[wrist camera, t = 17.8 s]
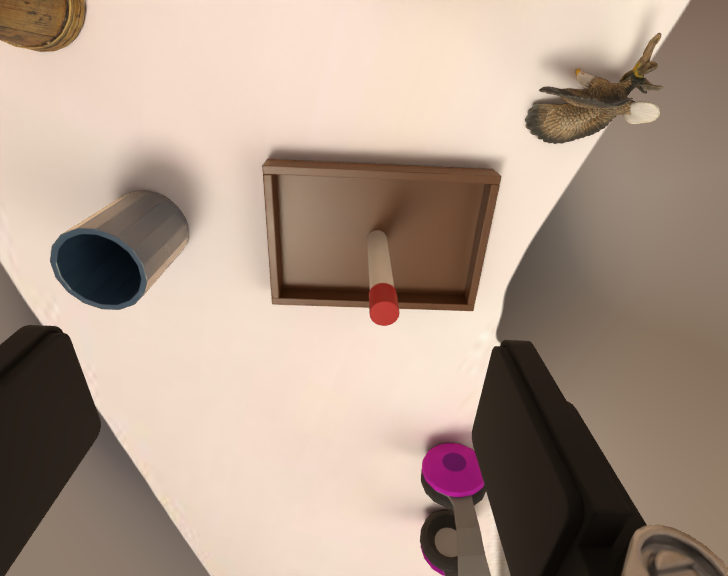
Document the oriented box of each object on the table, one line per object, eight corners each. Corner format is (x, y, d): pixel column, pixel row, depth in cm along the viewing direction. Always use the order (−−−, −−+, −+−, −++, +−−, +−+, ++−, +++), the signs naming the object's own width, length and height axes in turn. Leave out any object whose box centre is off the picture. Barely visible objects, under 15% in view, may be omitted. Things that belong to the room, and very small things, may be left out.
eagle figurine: (622, 9, 33) (521, 69, 34) (695, 51, 29) (581, 118, 30) (604, 88, 40) (519, 138, 40) (661, 131, 36) (568, 185, 37)
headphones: (470, 522, 69) (508, 681, 52) (416, 524, 69) (436, 684, 52) (479, 434, 59) (531, 596, 41) (416, 437, 59) (441, 600, 41)
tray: (267, 158, 40) (262, 165, 37) (493, 169, 40) (501, 176, 38) (276, 292, 47) (271, 304, 45) (467, 298, 48) (473, 311, 45)
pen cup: (105, 188, 41) (37, 226, 32) (182, 192, 41) (135, 230, 32) (123, 257, 44) (66, 308, 36) (194, 260, 45) (154, 311, 36)
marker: (366, 228, 43) (370, 300, 30) (388, 229, 43) (400, 301, 30) (365, 248, 44) (368, 325, 32) (386, 249, 44) (398, 326, 32)
